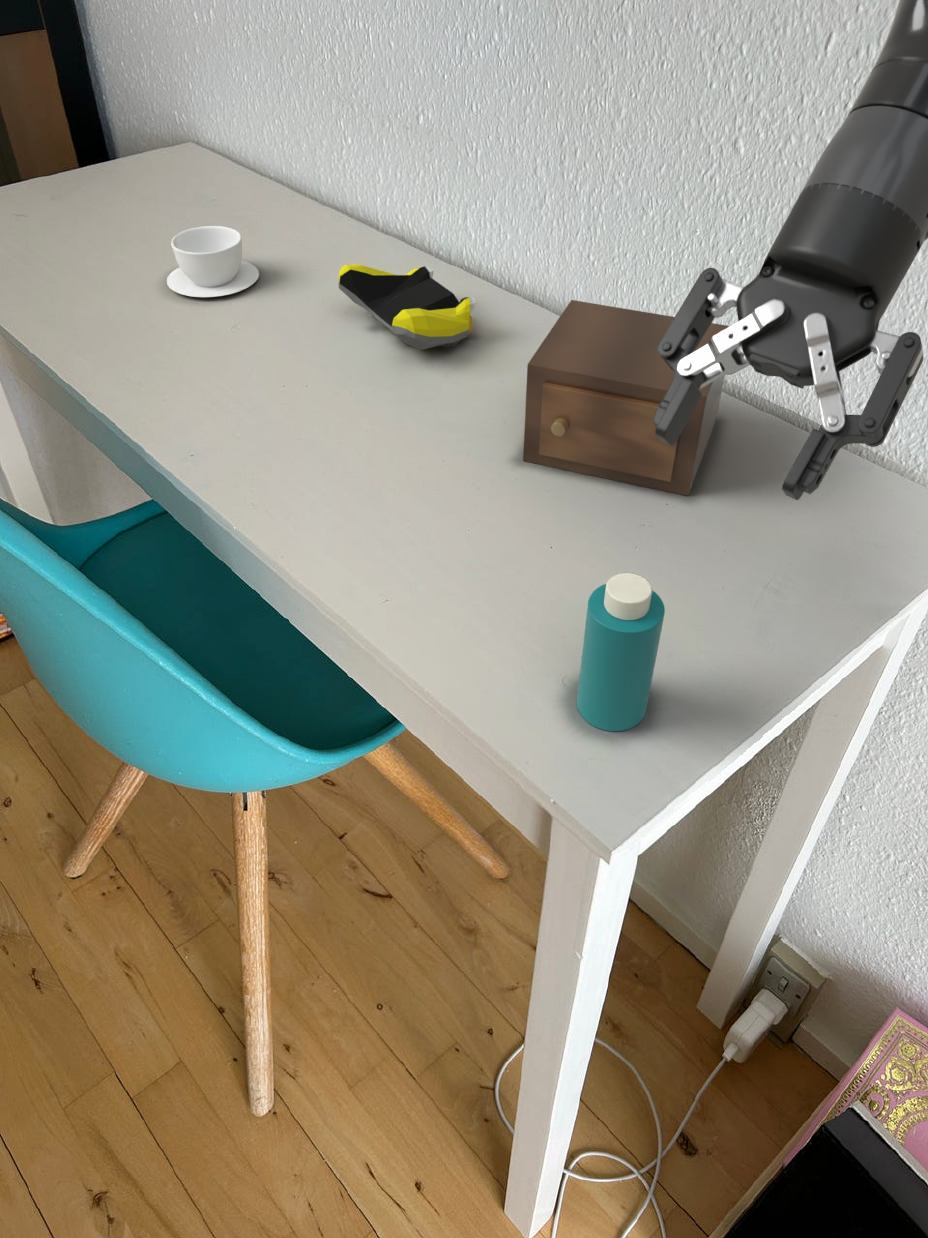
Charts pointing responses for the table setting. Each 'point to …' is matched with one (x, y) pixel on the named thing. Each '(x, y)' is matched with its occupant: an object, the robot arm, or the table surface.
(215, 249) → the teacup
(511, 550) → the table surface
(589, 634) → the water bottle
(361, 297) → the multicoloured piece
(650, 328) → the storage box
